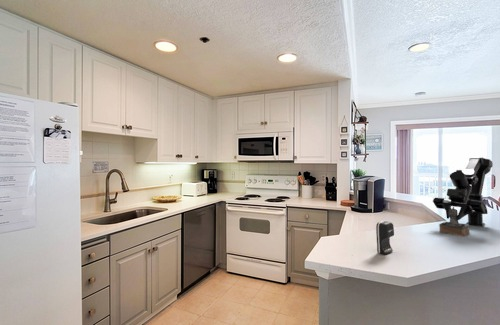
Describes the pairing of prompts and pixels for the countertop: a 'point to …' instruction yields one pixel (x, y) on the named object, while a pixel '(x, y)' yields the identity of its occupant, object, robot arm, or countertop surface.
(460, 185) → the robot arm
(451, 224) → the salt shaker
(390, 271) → the countertop surface
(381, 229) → the coffee maker
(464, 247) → the countertop surface
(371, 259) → the countertop surface
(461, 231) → the holder
